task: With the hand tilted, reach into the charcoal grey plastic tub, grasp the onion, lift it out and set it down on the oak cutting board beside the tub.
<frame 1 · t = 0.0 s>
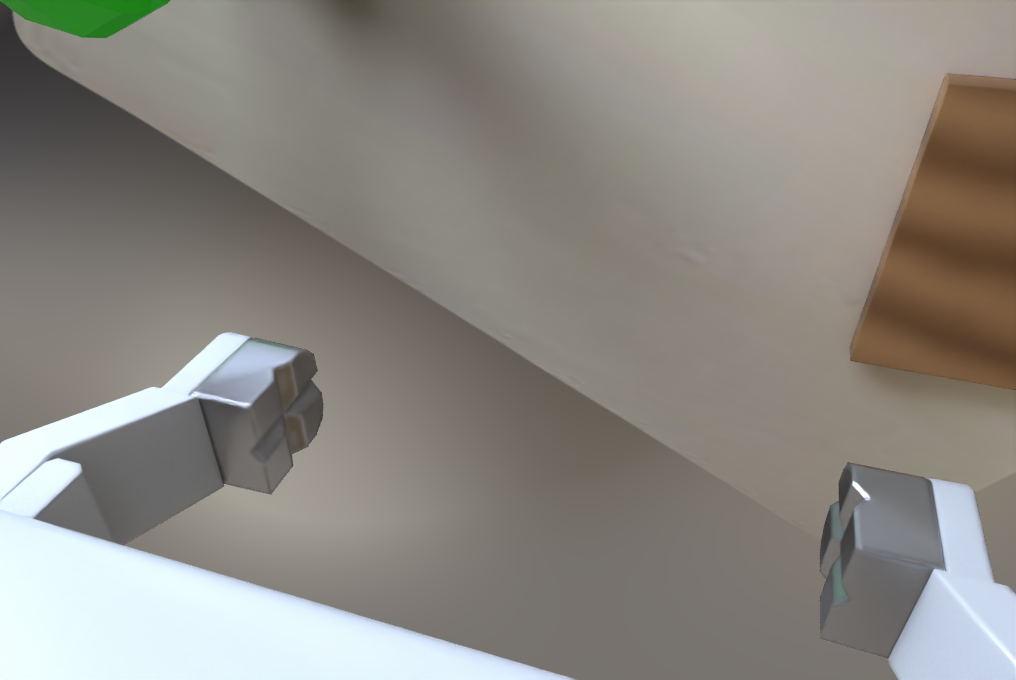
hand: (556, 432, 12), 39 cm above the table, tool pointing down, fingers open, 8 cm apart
cutting board: (1006, 244, 47), on the table
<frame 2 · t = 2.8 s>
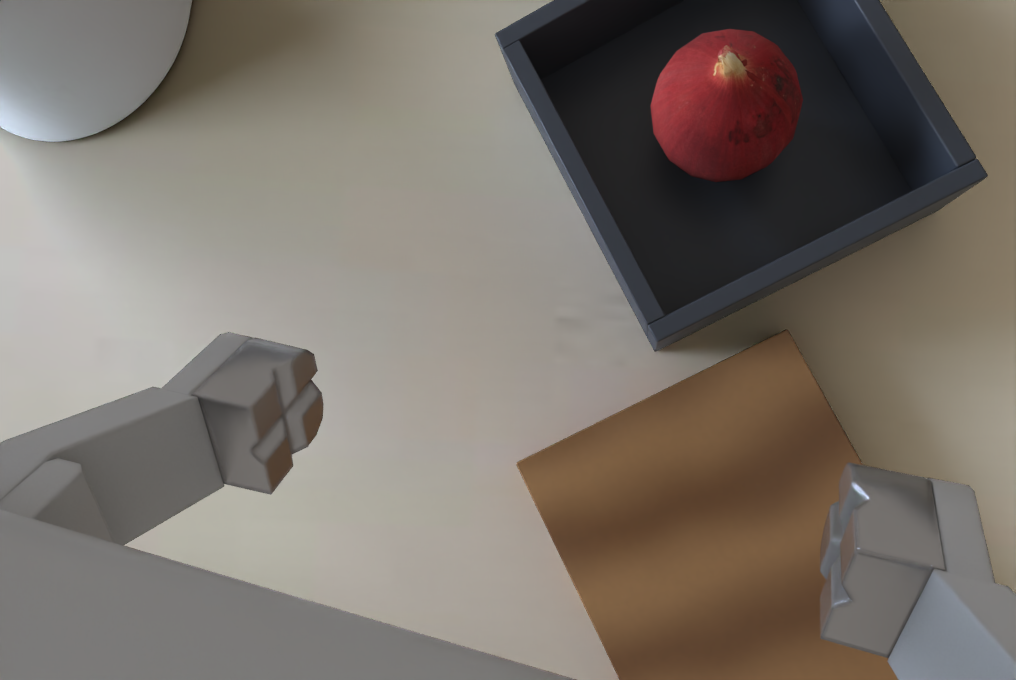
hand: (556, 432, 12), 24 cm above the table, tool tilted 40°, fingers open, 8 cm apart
tub: (715, 142, 36), on the table
cutting board: (756, 606, 34), on the table
onion: (715, 140, 35), resting on tub
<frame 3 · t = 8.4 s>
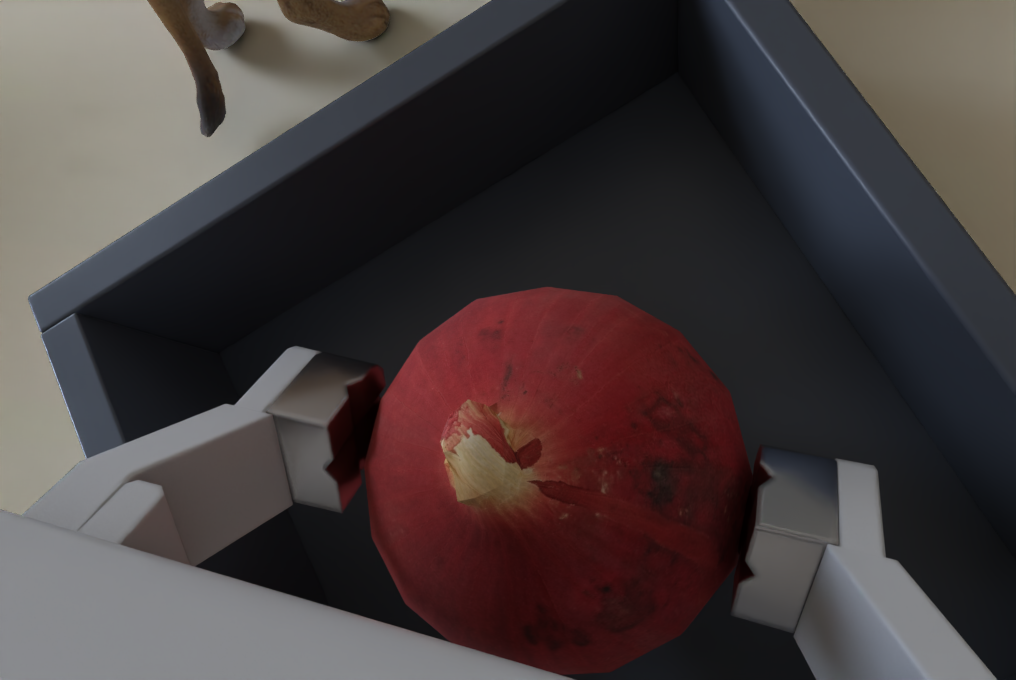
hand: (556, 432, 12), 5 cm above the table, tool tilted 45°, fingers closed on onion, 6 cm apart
tub: (586, 477, 16), on the table
onion: (585, 477, 16), resting on tub, touching gripper
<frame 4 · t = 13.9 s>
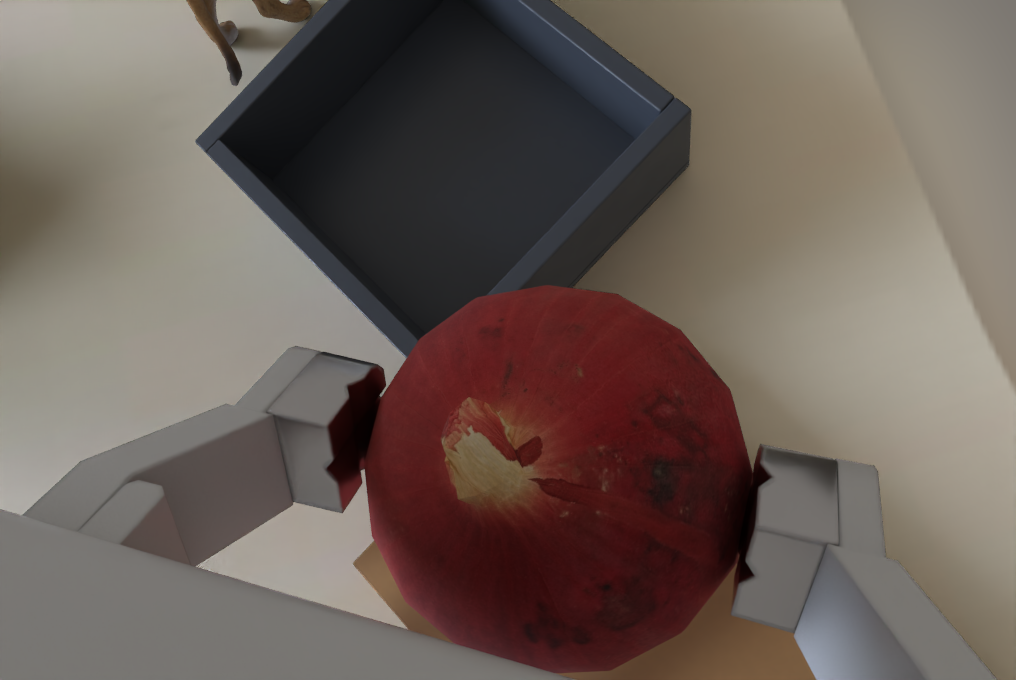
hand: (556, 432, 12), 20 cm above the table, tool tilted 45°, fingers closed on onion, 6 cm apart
tub: (460, 176, 35), on the table
cutting board: (653, 633, 30), on the table
onion: (585, 475, 16), point 16 cm above the table, touching gripper
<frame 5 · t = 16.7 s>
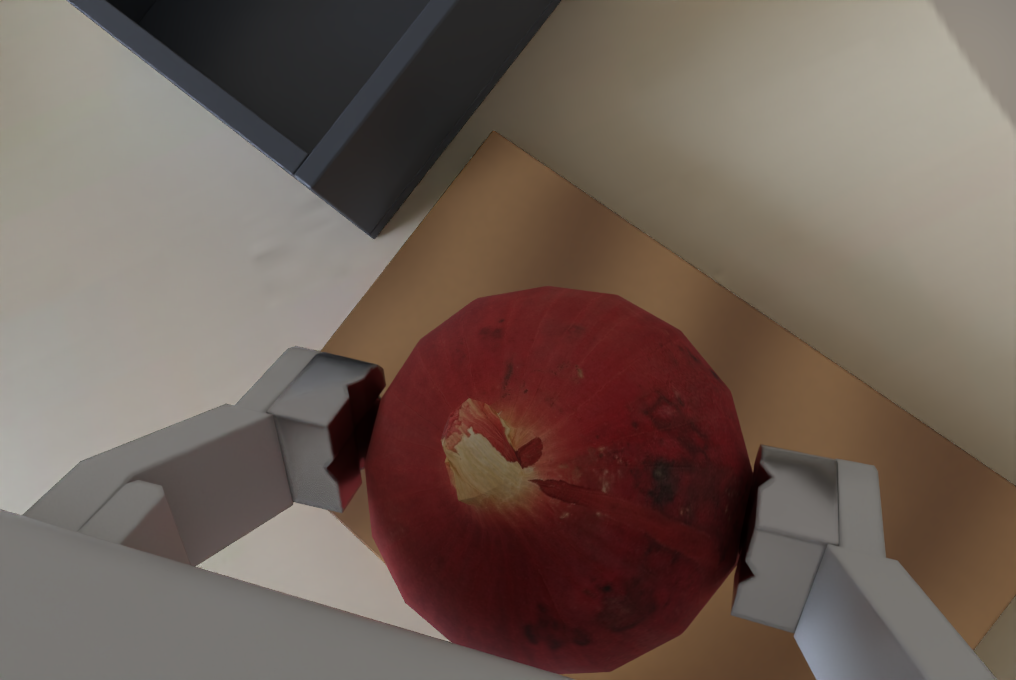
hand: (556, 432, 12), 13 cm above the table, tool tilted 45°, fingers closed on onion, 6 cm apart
cutting board: (617, 476, 25), on the table
onion: (585, 476, 16), point 9 cm above the table, touching gripper
when the fingers open (6 cm above the table, at t = 19.3 s): onion stays where it is, resting on cutting board.
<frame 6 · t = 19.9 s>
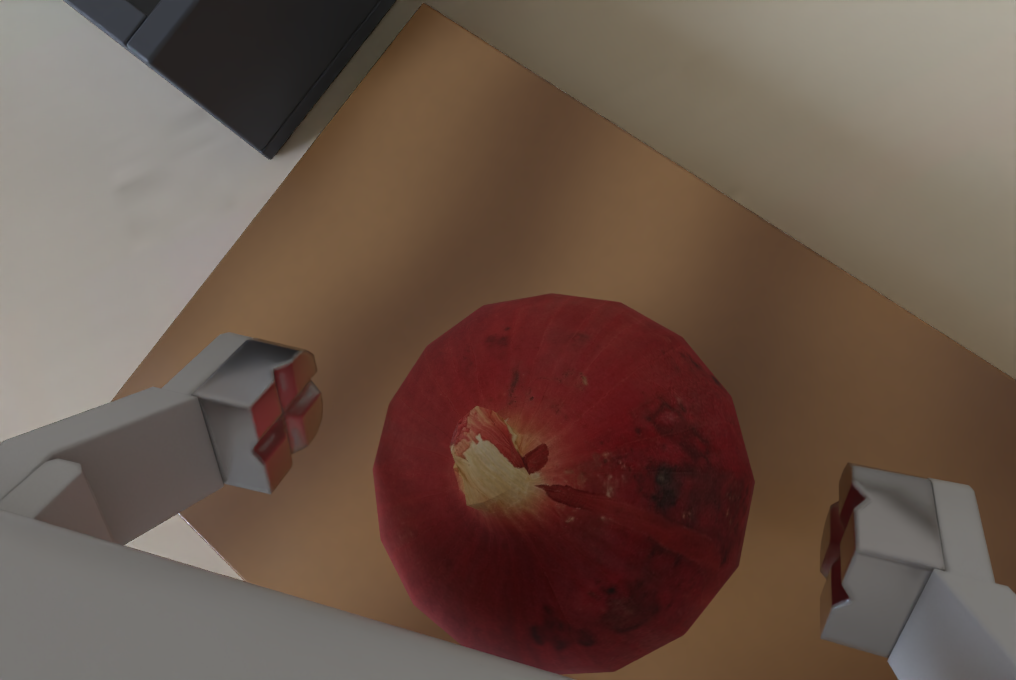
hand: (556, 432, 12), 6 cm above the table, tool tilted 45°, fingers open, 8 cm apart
cutting board: (592, 477, 17), on the table
onion: (588, 479, 16), point 1 cm above the table, touching cutting board
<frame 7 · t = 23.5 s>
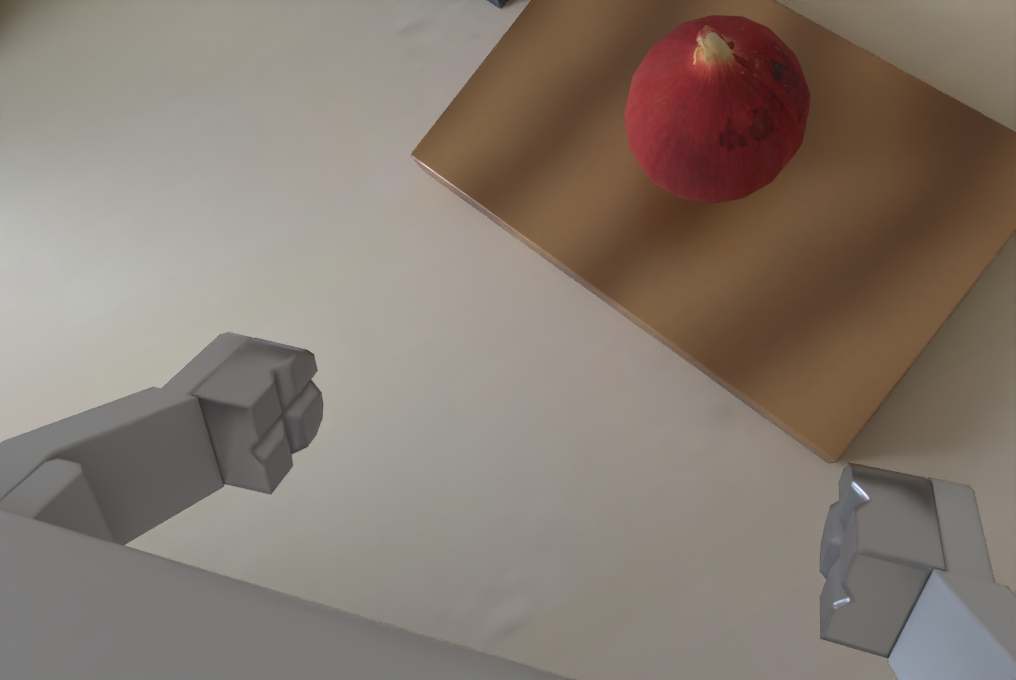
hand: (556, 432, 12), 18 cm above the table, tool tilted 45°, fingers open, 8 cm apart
cutting board: (707, 172, 31), on the table
onion: (710, 160, 30), point 1 cm above the table, touching cutting board
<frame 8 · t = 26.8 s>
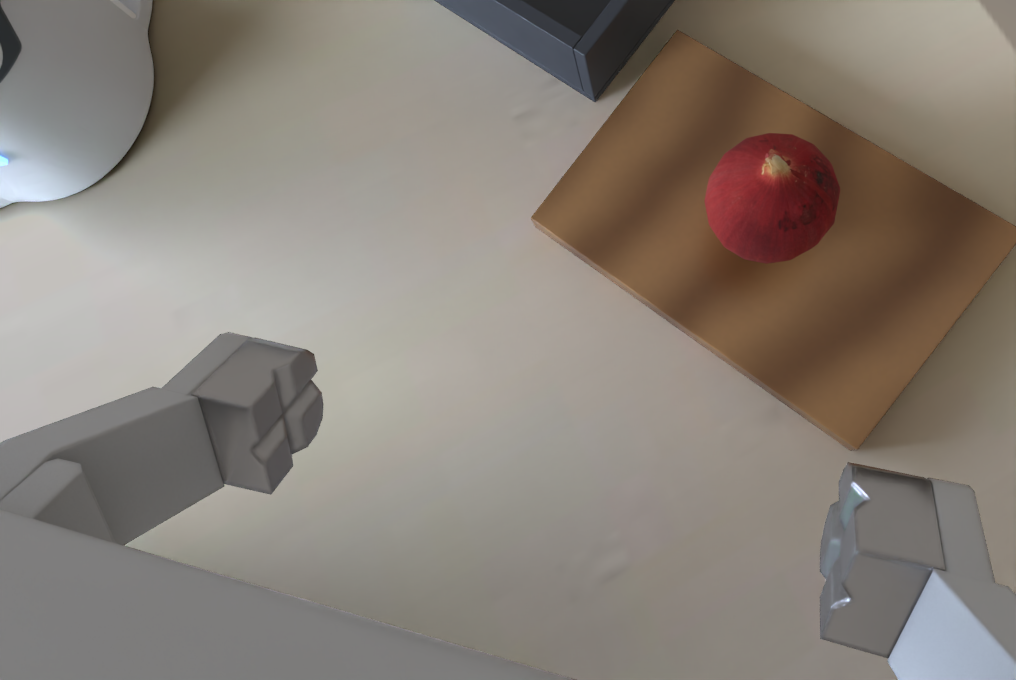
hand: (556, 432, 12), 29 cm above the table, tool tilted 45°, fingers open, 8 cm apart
cutting board: (758, 233, 41), on the table
onion: (762, 226, 40), point 1 cm above the table, touching cutting board
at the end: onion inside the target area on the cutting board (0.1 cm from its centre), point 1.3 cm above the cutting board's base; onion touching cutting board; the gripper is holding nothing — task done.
